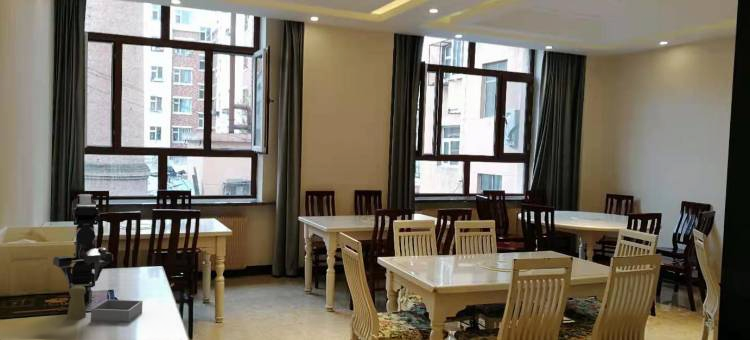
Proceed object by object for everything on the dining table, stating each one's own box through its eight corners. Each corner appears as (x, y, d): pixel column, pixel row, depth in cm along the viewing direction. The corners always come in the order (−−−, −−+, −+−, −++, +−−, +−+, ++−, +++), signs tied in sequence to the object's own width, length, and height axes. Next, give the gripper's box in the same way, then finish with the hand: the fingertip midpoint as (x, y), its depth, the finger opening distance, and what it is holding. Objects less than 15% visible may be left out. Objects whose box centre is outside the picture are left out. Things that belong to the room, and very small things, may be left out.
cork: (71, 314, 200) (72, 284, 199) (88, 314, 200) (90, 284, 200) (63, 319, 194) (64, 288, 193) (81, 319, 194) (82, 288, 194)
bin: (90, 321, 193) (91, 309, 193) (106, 310, 206) (107, 299, 206) (128, 322, 193) (129, 310, 193) (142, 312, 206) (142, 300, 206)
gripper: (67, 245, 185) (65, 291, 185) (121, 240, 200) (119, 283, 200) (53, 240, 192) (51, 285, 192) (106, 236, 206) (105, 277, 207)
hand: (83, 282), depth 198 cm, fingers open, 9 cm apart
